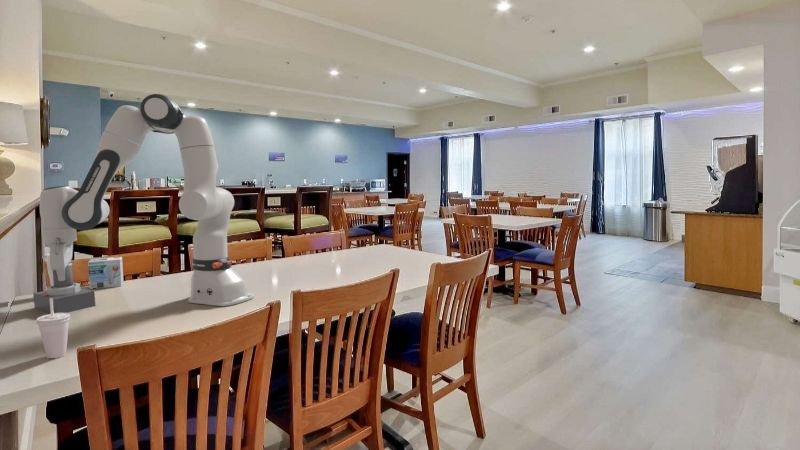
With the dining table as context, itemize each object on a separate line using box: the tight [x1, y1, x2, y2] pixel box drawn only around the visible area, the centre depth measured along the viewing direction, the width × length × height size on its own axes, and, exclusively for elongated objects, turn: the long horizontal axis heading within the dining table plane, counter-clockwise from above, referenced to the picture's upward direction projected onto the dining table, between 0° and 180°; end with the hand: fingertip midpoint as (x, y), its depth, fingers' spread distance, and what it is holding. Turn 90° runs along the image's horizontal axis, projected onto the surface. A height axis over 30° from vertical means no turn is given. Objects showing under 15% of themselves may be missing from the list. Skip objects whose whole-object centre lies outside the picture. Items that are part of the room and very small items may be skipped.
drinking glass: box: [46, 253, 72, 286], centre depth 156 cm, size 7×7×15 cm
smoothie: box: [35, 298, 71, 359], centre depth 103 cm, size 6×6×14 cm
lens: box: [53, 261, 74, 289], centre depth 141 cm, size 5×5×9 cm
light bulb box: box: [87, 256, 125, 290], centre depth 169 cm, size 11×7×11 cm, turn 117°
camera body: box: [32, 282, 96, 314], centre depth 142 cm, size 14×11×7 cm
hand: (63, 278), depth 141 cm, fingers closed on lens, 5 cm apart
